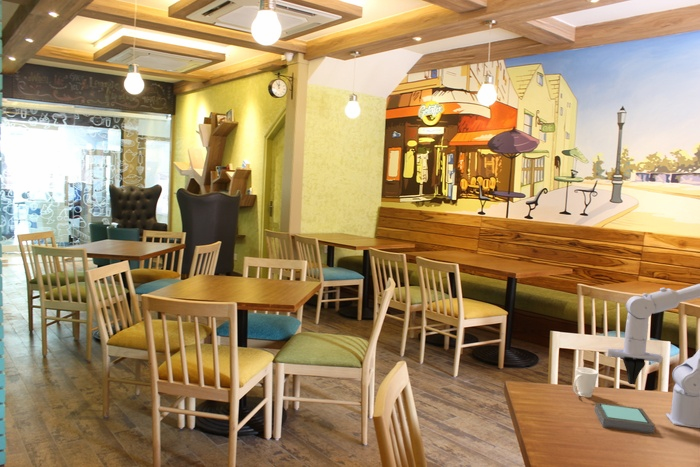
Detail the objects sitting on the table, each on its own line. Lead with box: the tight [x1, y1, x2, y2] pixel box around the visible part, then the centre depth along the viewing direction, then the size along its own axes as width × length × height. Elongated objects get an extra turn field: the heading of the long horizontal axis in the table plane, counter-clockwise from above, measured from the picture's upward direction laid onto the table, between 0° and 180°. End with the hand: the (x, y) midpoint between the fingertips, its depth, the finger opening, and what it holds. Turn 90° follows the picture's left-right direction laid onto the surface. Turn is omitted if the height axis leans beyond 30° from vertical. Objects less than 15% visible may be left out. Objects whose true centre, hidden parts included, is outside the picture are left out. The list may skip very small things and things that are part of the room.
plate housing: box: [594, 401, 655, 435], centre depth 163 cm, size 13×13×2 cm
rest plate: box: [601, 404, 648, 423], centre depth 163 cm, size 10×10×2 cm
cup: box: [572, 366, 599, 398], centre depth 183 cm, size 7×10×8 cm
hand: (631, 383), depth 169 cm, fingers closed
